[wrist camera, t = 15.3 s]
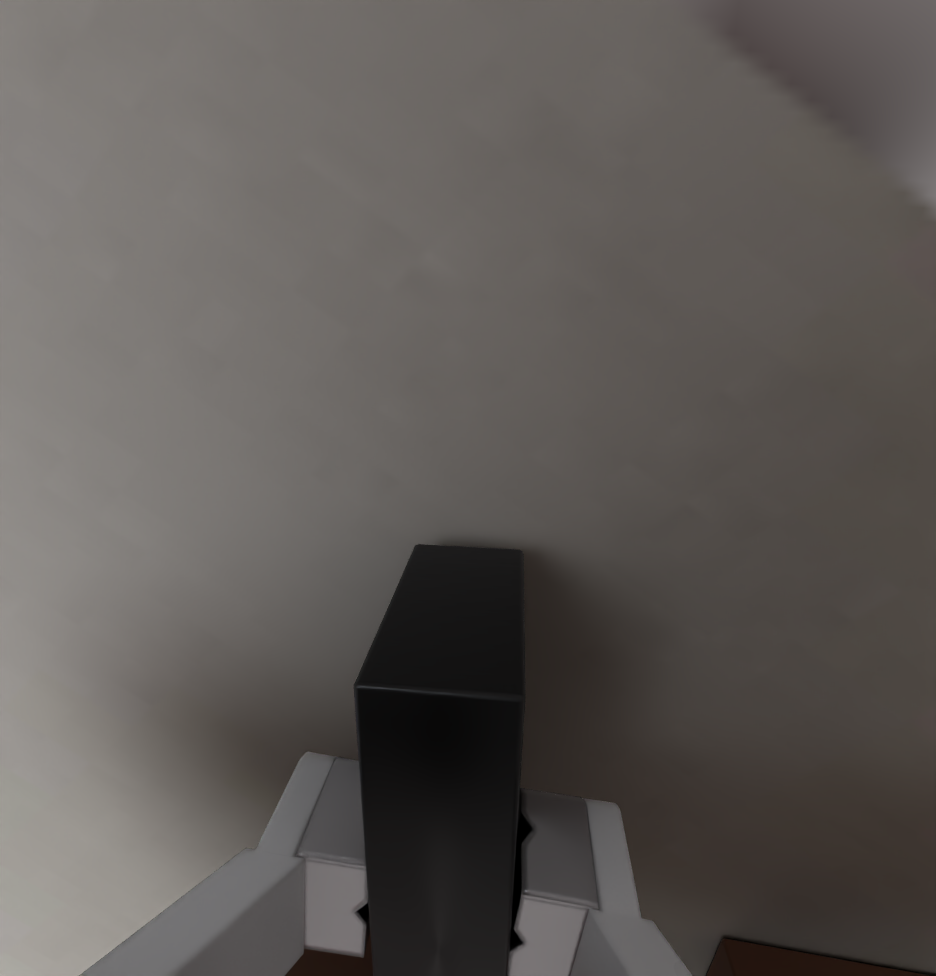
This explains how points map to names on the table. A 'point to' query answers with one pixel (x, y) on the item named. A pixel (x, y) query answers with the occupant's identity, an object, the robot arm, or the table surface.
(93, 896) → the table surface
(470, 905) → the knife
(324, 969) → the cake slice
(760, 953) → the cake
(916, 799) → the table surface
